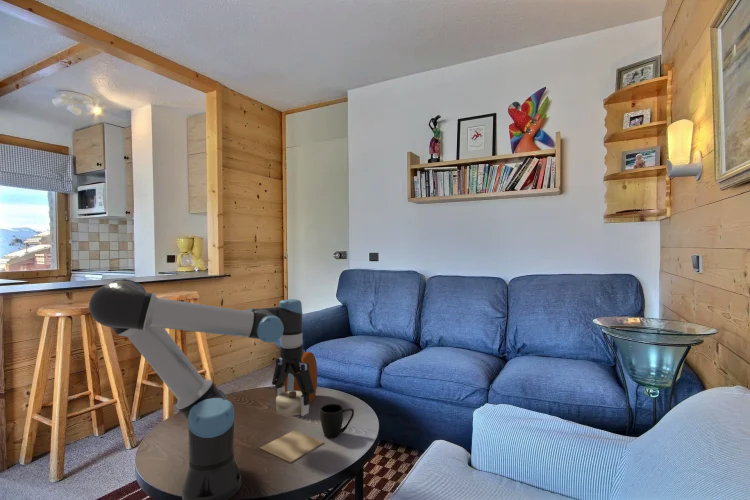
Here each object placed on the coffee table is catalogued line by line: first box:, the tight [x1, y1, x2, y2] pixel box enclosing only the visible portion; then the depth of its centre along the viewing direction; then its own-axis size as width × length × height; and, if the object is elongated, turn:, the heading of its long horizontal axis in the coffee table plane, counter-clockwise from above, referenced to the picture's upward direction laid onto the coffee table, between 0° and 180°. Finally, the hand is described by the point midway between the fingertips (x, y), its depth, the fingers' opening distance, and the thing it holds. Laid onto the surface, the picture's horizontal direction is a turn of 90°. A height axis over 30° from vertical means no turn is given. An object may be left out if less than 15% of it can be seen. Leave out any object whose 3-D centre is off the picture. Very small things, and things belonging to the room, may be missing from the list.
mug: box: [319, 403, 355, 439], centre depth 138 cm, size 8×12×10 cm
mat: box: [259, 429, 325, 464], centre depth 130 cm, size 15×15×1 cm
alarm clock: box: [283, 349, 318, 404], centre depth 167 cm, size 22×10×23 cm, turn 170°
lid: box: [275, 391, 310, 417], centre depth 130 cm, size 11×11×6 cm
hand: (292, 410), depth 130 cm, fingers closed on lid, 11 cm apart
